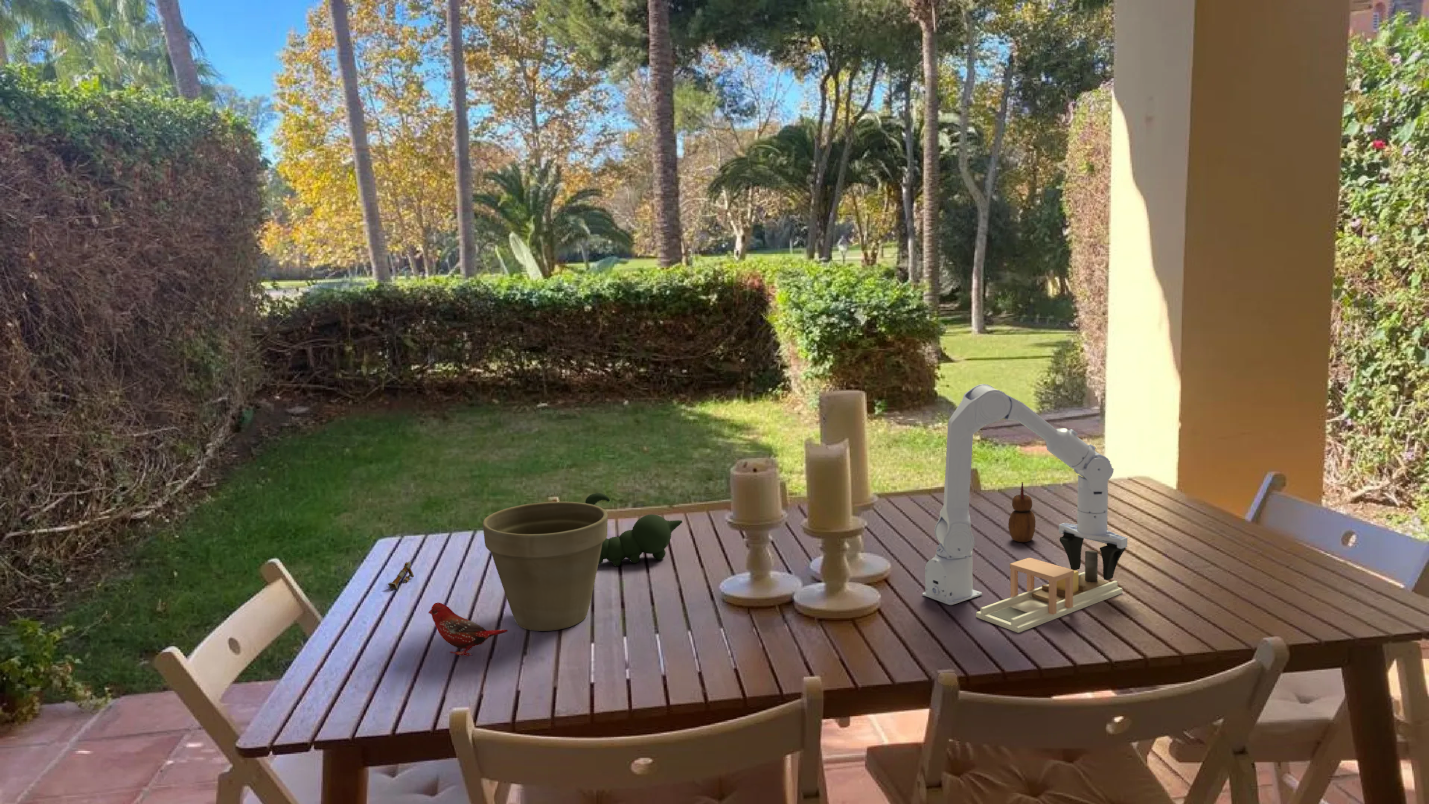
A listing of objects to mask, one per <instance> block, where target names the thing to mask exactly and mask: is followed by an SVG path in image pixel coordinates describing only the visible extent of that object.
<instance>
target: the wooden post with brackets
mask: <svg viewBox="0 0 1429 804" xmlns="http://www.w3.org/2000/svg"><path fill="white" fill-rule="evenodd" d="M411 566H412V563H411V561H407V562H405V563H404V565H403V568H402V569H401V570H400V571H399V573H398V574H397V575H396V578H395V579H394V580H392V582H388V583H387V585H388V587H389V589H392V590H393V589H394V590H398V589H399V588H398V585H399V583H400V581H401V580H402V579H403V577H404V576H405V575H406V574H407V573H408V575H407V576H405V577H404V579H403V580H402V581H403V584H406V583H409V581H411V578H414V577H415V574H414V572H413V571H412V569H411Z"/></svg>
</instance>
